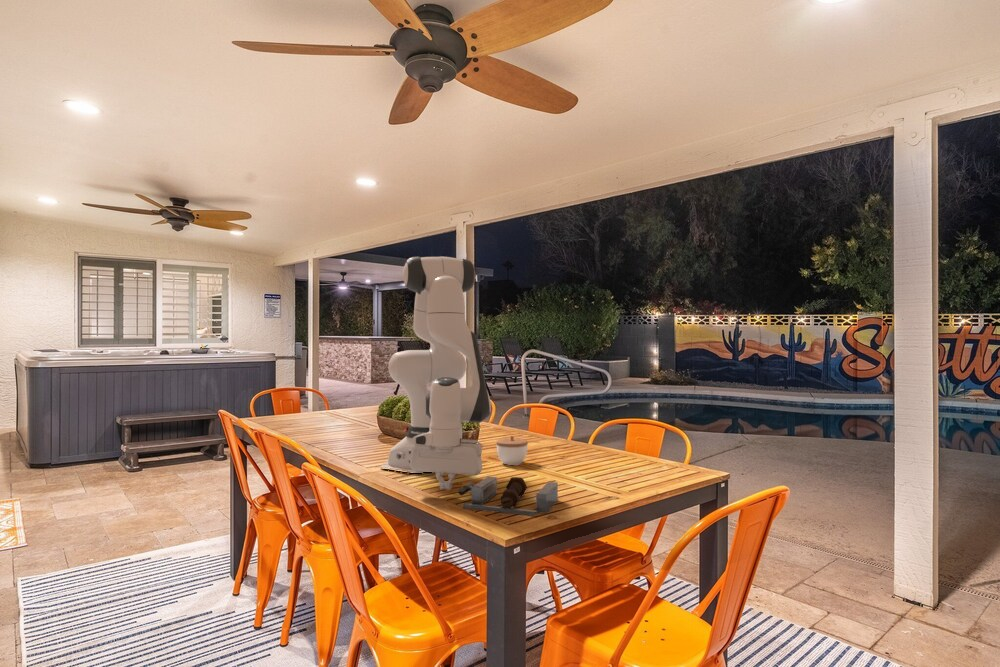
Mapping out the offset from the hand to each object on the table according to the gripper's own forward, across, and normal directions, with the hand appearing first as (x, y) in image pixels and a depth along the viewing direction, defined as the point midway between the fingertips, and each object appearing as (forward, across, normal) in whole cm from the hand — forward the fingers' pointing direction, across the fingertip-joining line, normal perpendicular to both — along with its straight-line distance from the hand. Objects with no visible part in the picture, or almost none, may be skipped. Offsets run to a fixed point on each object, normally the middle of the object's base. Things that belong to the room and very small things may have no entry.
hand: (445, 489), depth 152 cm
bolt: (+2, -19, 0) cm, 19 cm away
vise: (+2, -19, +1) cm, 19 cm away
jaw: (+2, -9, 0) cm, 9 cm away
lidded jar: (+2, -5, -44) cm, 44 cm away
